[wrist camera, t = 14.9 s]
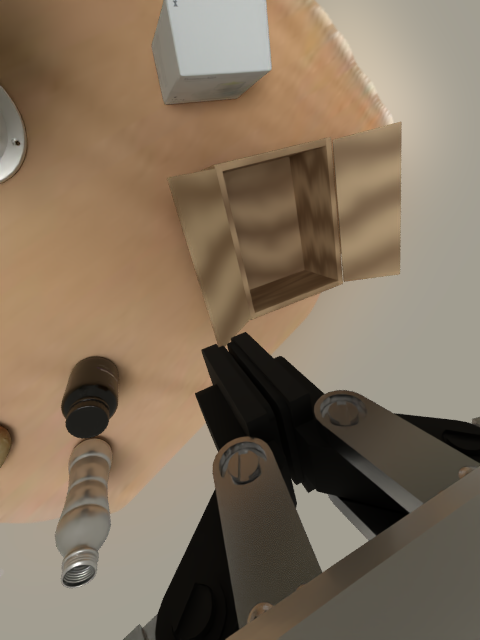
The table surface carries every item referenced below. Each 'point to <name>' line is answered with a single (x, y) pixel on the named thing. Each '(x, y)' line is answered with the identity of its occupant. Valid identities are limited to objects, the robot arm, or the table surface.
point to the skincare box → (210, 48)
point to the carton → (283, 223)
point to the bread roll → (4, 444)
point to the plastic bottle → (84, 512)
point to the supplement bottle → (90, 397)
